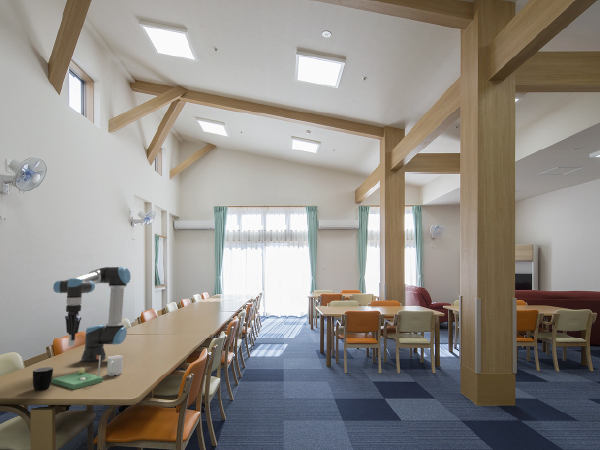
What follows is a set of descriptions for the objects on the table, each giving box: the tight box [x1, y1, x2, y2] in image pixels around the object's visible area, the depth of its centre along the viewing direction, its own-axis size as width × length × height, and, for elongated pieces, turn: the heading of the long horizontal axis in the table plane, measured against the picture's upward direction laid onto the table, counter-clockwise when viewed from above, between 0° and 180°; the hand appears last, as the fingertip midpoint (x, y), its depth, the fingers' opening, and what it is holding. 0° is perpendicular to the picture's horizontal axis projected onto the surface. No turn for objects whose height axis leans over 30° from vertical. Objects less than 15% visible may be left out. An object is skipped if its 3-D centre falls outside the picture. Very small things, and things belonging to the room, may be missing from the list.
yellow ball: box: [77, 367, 86, 374], centre depth 220 cm, size 3×3×3 cm
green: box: [51, 355, 104, 391], centre depth 212 cm, size 22×16×14 cm
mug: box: [32, 366, 54, 392], centre depth 200 cm, size 12×9×10 cm
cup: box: [106, 354, 124, 377], centre depth 227 cm, size 8×12×10 cm
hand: (71, 345), depth 218 cm, fingers closed
